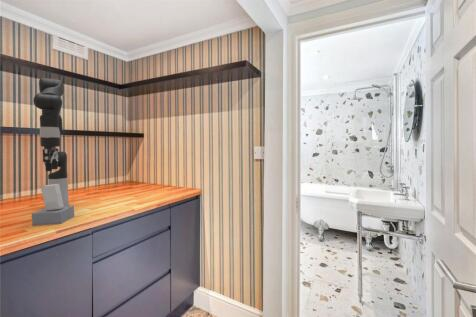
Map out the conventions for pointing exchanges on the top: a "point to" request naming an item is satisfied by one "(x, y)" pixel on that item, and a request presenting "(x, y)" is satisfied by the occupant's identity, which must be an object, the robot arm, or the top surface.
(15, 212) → the top surface
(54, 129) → the robot arm
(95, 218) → the top surface
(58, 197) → the skincare box
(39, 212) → the grey block
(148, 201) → the top surface
